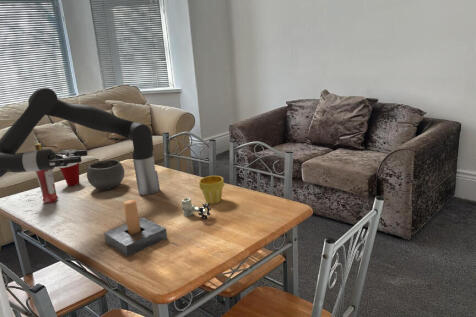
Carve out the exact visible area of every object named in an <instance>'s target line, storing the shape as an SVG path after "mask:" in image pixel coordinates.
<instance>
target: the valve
mask: <svg viewBox="0 0 476 317" xmlns="http://www.w3.org/2000/svg"><path fill="white" fill-rule="evenodd" d="M201 204H202V206H199V207H198V206H197V205H195V204H192V198H190V197H184V198H182V200H181V205H182V206H181V208H182V211H183V216H184V217H189V216H192V215H193V214H194V213H195V212H197V213H198V214H197V215H198V216H199V217H200V220H207V219H208V216H211V212H210V211H211V210H212V207H210V203H207V202H206V203H201Z"/></svg>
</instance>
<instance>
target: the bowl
mask: <svg viewBox="0 0 476 317" xmlns="http://www.w3.org/2000/svg"><path fill="white" fill-rule="evenodd" d="M124 168H125V167H124V166H123V164H122V162H120V161H119V160H118V159H103V160H100V161H99V160H98V161H96V162H93V163H91V164H89V165H88V167H87V169H86V170H87V171H86V178H87V181H88V183H89V184H90V185H91V186H92V187H93V188H95V189H98V190H102V191H105V190H106V191H107V190H111V189H113V188H116V187H117V186H119V185H120V184H121V183H122V181H123V180H124V178H125V169H124Z"/></svg>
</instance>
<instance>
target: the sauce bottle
mask: <svg viewBox="0 0 476 317" xmlns="http://www.w3.org/2000/svg"><path fill="white" fill-rule="evenodd" d="M34 148H35V151H38V150H43V147H42V143H36V144H34ZM34 172H35V175H36V178H37V181H38V185H39V187H40V191H41V194H42V195H41V196H42V202H44V203H46V204H51V203H54V202H56V201H57V200H58V198H59V196H58V195H57V190H56V184H55V179H54V172H53V169H52V170H43V171H34Z"/></svg>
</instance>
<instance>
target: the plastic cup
mask: <svg viewBox="0 0 476 317" xmlns="http://www.w3.org/2000/svg"><path fill="white" fill-rule="evenodd" d="M58 168H59V170H60V171H61V173H62V176H63V177H64V180H65V182H66V185H67V186H68V187H75V186H77V185H79V184H80V162H79V163H71V164H69V165H68V164H67V166H61V167H58Z"/></svg>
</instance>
